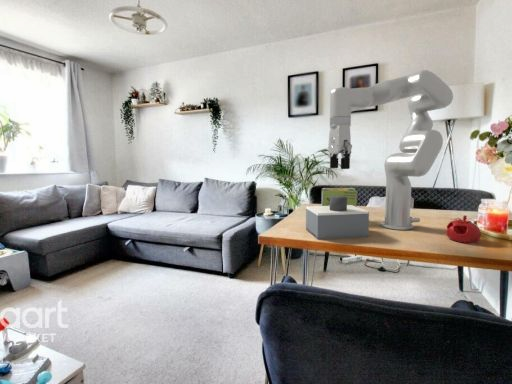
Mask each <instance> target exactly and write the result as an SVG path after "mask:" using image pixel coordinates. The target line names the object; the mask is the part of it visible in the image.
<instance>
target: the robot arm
mask: <svg viewBox="0 0 512 384" xmlns="http://www.w3.org/2000/svg"><path fill="white" fill-rule="evenodd" d="M407 98H409V100H408V101H407V102H408V103H407V106H408V107H407V108H408V111H409V114H410V118H411V119H410V120H411V121H410V123H409V126H408V127H407V129H406V131H405V133H404V135H402V138H401V140H400V142H399V145H398V146H399V147H398V148H399V150H400V152H396V153H392V154H390V155H388V156H387V157H386V159H385V160H384V173H385V203H384V205H385V206H384V207H385V209H384V220H383V221H381V222H380V226H381V227H383V228H385V229H391V230H399V231H408V230H412V229H414V224H413V223H419V222H421V219H420V217H413V216H411V202H412V201H411V200H412V183H411V180H410V178H409V177H413V178H414V177H415V178H416V177H418V178H419V177H424V176H425V175H427V174H428V172H429V171H430V170H431V168H432V166H433V165H434V163H435V161H436V160H437V158H438V155H439V154H440V152H441V150H442V149H443V148H442V147H443V143H444V137H443V135H442V133H441V132H440V131H439V130H436V129H433V126H434V123H433V120H432V118H431V117H430V115H429V112H430V111H435V110H441V109H445V108H447V107H449V106H450V105H451V104H452V102H453V99H454V94H453V90H452V89H451V87H450V86H449V85H448V84H447V83H446V82H445V81H443V80H442V78H441V77H439V76H438V75H437V74H436V73H434V72H433V71H431V70H428V69H423V70H420V71H416V72H414V73H411V74H407V75H404V76H400V77H396V78H392V79H388V80H384V81H381V82H380V81H379V82H378V83H375V84H373V85H370V86H368V87H354V88H349V87H347V86H346V87H344V86H343V87H341V86H340V87H337V88H336V87H335V88H333V89H332V90H331V91H330V92H329V129H330V130H329V133H328V146H327V147H328V148H327V149H328V150H327V151H328V153H329V169H339V158H338V156H339V154H340V156H341V157H340V169H341V170H350V168H351V163H350V162H351V154H352V148H353V144H351V128H350V127H351V126H352V123H351V122H352V112H354V111H360V110H363V109H366V108H370V107H376V106H382V105H386V104H388V103H389V104H390V103H393V102H395V101H399V100H403V99H407Z"/></svg>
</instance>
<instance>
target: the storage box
mask: <svg viewBox="0 0 512 384" xmlns="http://www.w3.org/2000/svg"><path fill="white" fill-rule="evenodd" d="M369 220H370V212H369V213H368V214H344V215H319V216H318V215H316V214H314V213H313V212H311V211H309V210H308V209H306V208H305V229H306V232H308V233H309V234H311V235H312V236H313V237H314V238H315V239H316V240H327V239H328V240H331V239H332V240H333V239H345V238H367V237H369V222H370V221H369Z"/></svg>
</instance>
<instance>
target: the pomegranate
mask: <svg viewBox="0 0 512 384" xmlns="http://www.w3.org/2000/svg"><path fill="white" fill-rule="evenodd" d="M450 220H451V221H449V223H447V225H446V236H447V238H448V239H449V240H452V241H454V242H458V243H463V244H474V243H477V242H478V241H480V239H481V237H482V232H481V230H480V227H478V225H477V224H476V223H473V222H478V220H475V219H473V220H467V215H463V216H462V219H461V218H460V217H456V218H454V219H452V218H451V219H450Z"/></svg>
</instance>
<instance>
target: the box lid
mask: <svg viewBox="0 0 512 384" xmlns="http://www.w3.org/2000/svg"><path fill="white" fill-rule="evenodd" d="M305 207H306V208H305V210H306V209H308V210H309V211H311V212H313V213H314V214H316V215H318V216H319V215H344V214H368V213H369V214H370V210H366V209H363V208H360V207H358V206H357V207H356V206H353V205H347V211H331V210H330V206H322V205H317V206H316V205H314V206H311V205H310V206H305Z"/></svg>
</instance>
